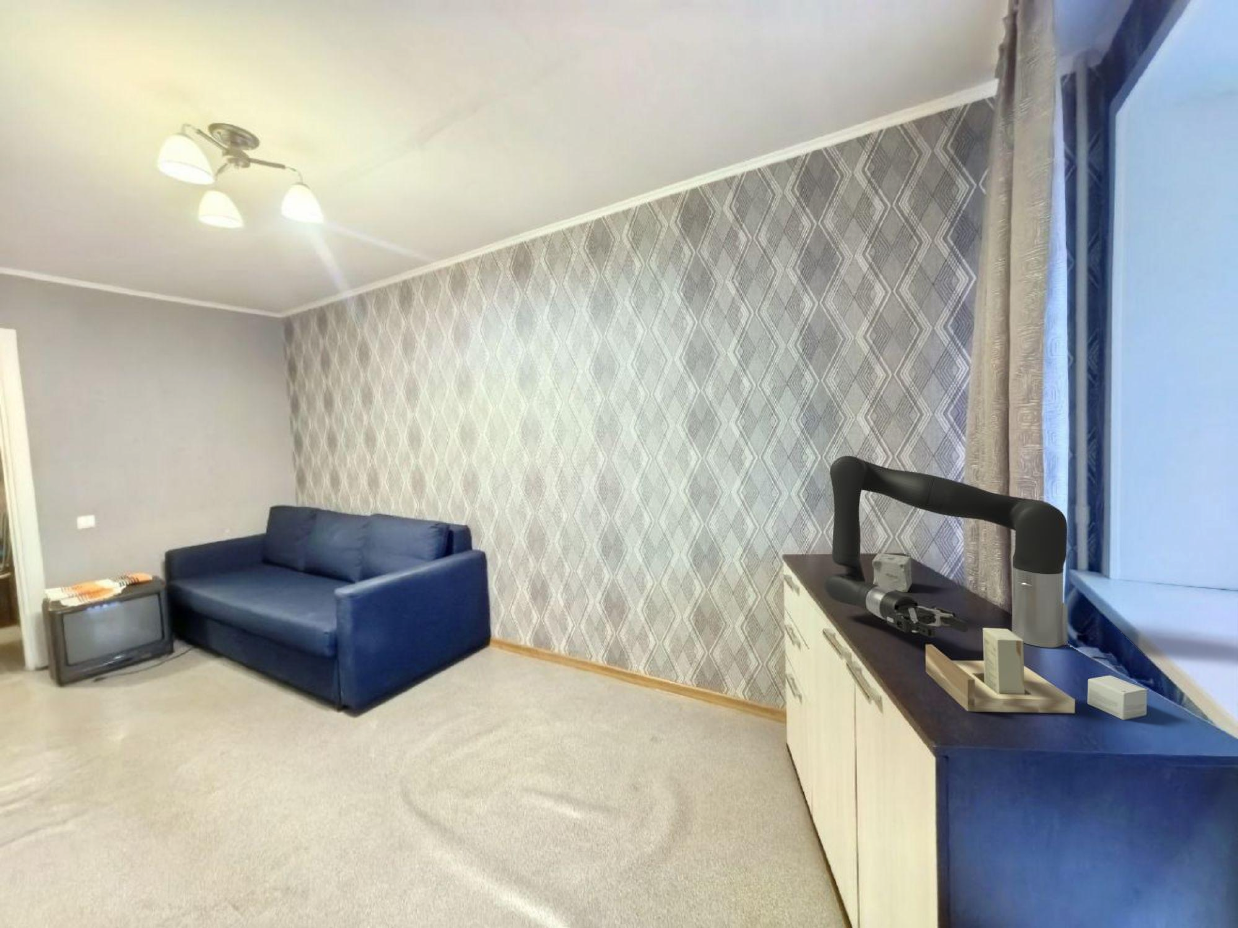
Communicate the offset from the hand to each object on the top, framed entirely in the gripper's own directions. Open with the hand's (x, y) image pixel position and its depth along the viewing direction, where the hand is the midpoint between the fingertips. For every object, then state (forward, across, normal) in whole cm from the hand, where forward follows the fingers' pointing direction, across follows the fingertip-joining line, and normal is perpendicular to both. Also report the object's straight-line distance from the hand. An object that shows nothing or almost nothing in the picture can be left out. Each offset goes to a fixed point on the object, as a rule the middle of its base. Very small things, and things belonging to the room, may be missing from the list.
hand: (950, 630), depth 106 cm
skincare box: (+12, 0, +9) cm, 14 cm away
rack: (+9, 0, +9) cm, 13 cm away
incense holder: (-48, +30, +9) cm, 58 cm away
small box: (+20, +14, +9) cm, 27 cm away
